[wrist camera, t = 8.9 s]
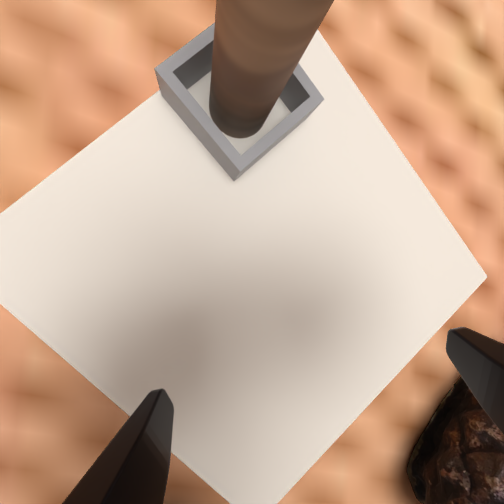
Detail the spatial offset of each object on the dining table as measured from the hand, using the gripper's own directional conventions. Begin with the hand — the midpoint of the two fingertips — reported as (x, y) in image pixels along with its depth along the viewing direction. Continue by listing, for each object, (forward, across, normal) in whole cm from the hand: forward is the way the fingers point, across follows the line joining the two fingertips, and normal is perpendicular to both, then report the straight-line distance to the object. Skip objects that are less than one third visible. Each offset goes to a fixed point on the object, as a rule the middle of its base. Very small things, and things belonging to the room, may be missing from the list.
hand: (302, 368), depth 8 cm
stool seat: (+11, +1, +2) cm, 11 cm away
